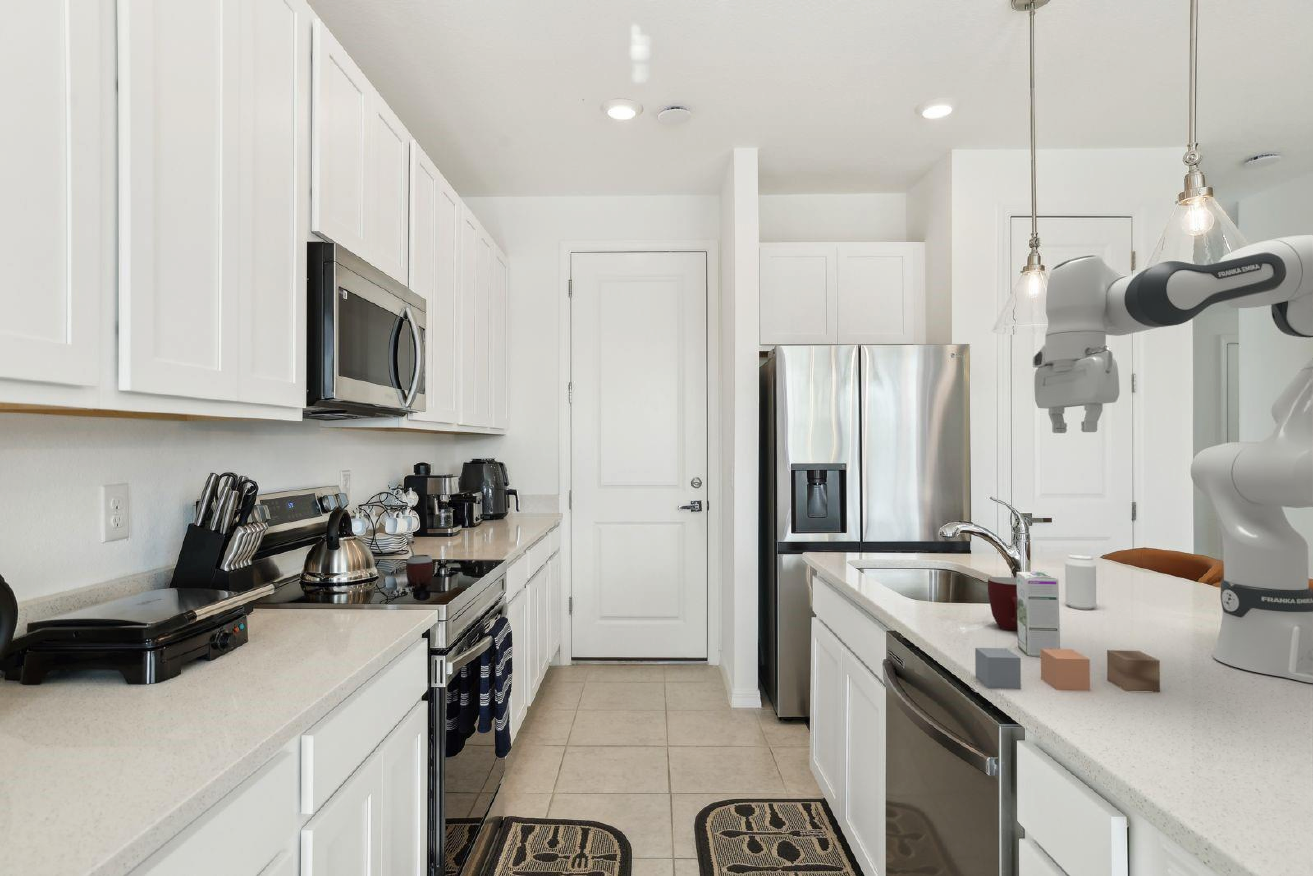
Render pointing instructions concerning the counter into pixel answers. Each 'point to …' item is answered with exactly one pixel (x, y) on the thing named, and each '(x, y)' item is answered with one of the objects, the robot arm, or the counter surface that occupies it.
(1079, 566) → the white cylinder
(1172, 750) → the counter surface
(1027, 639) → the syrup box
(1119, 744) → the counter surface
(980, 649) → the slate block
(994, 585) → the mug
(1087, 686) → the terracotta block
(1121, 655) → the walnut block
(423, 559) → the mate gourd
